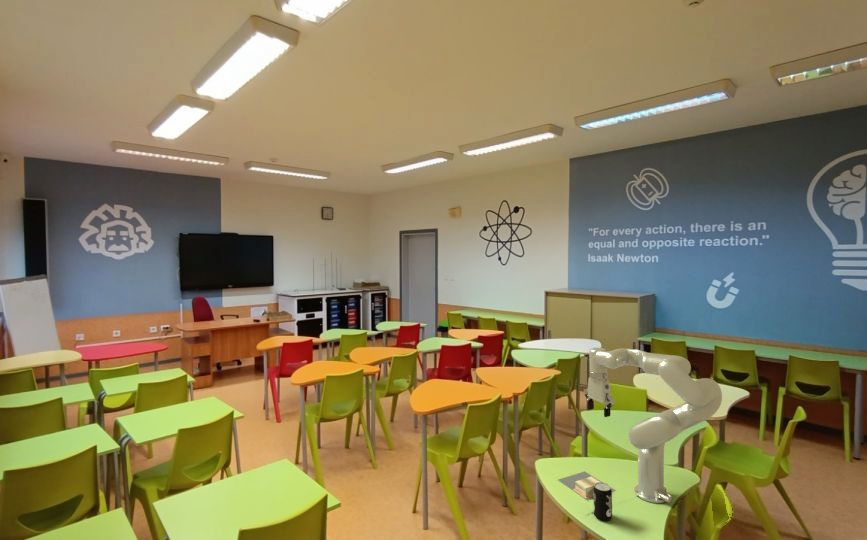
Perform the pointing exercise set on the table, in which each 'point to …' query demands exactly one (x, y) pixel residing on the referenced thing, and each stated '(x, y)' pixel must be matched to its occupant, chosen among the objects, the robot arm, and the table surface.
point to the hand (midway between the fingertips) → (598, 412)
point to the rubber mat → (571, 480)
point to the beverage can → (602, 501)
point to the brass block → (586, 486)
